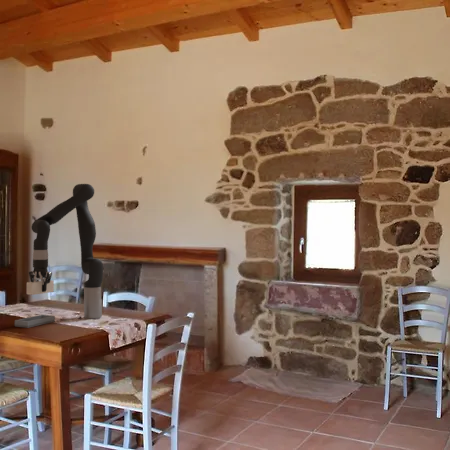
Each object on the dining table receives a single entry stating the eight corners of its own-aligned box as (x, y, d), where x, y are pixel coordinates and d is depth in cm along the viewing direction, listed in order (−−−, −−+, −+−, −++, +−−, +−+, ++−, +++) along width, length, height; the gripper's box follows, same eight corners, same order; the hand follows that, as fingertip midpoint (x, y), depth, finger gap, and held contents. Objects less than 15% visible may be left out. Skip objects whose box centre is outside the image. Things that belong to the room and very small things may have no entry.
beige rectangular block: (48, 291, 283) (48, 280, 283) (53, 291, 281) (53, 280, 281) (26, 294, 271) (26, 282, 271) (31, 294, 269) (32, 283, 269)
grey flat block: (42, 320, 288) (42, 314, 288) (54, 321, 285) (54, 315, 285) (14, 326, 271) (14, 320, 271) (27, 327, 267) (27, 321, 267)
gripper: (56, 258, 276) (56, 291, 276) (35, 257, 282) (34, 289, 282) (46, 259, 269) (45, 293, 269) (24, 258, 275) (24, 291, 275)
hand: (40, 291), depth 276 cm, fingers closed on beige rectangular block, 4 cm apart
